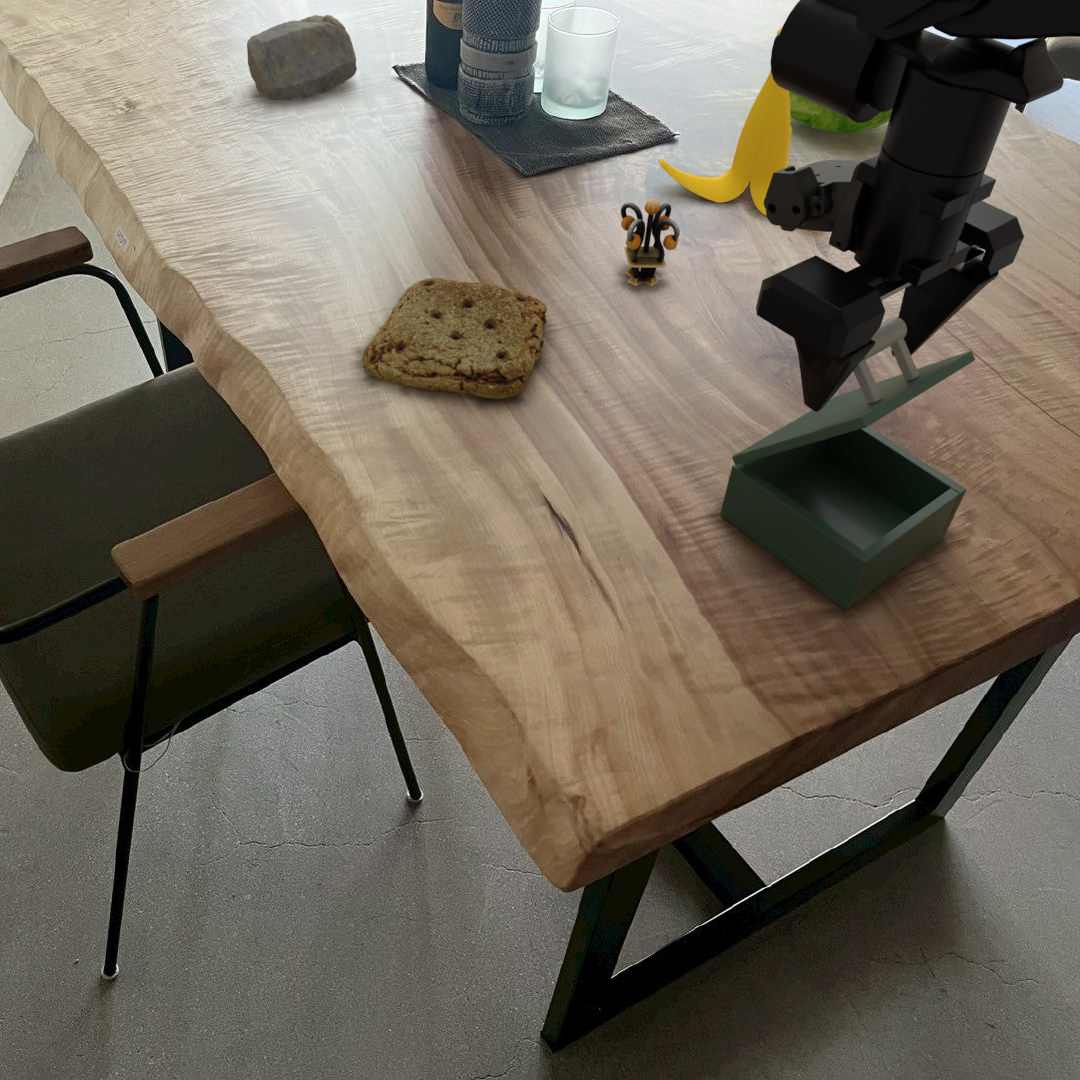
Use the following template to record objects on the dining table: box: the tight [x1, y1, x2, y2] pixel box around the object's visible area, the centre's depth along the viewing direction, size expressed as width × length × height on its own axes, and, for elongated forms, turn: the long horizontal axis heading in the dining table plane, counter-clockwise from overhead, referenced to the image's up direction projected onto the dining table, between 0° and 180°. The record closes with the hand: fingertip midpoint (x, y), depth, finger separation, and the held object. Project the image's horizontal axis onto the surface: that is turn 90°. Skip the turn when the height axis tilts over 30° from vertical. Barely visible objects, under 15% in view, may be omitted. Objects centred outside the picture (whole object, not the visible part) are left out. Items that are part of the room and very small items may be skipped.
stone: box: [246, 14, 358, 102], centre depth 121 cm, size 12×8×8 cm, turn 125°
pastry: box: [361, 277, 548, 400], centre depth 88 cm, size 17×17×3 cm
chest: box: [720, 425, 967, 611], centre depth 75 cm, size 12×12×5 cm
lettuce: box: [789, 91, 893, 136], centre depth 121 cm, size 15×20×14 cm
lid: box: [731, 316, 976, 465], centre depth 70 cm, size 12×12×5 cm
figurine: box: [620, 198, 681, 287], centre depth 96 cm, size 5×5×8 cm
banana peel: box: [658, 27, 793, 216], centre depth 105 cm, size 17×19×17 cm
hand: (856, 381), depth 69 cm, fingers open, 9 cm apart
